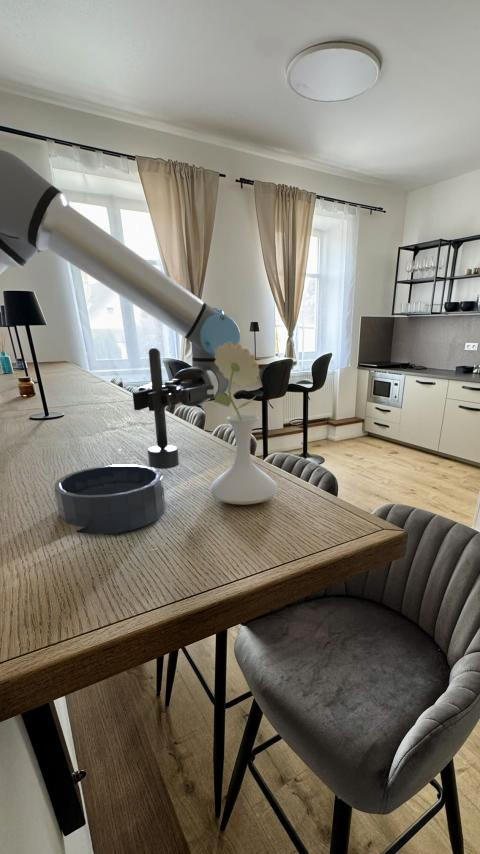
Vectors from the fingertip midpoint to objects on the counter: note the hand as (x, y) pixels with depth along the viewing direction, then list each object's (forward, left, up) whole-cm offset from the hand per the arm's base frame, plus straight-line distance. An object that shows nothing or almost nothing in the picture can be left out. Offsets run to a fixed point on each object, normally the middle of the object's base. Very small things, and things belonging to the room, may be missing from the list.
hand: (143, 401), depth 65 cm
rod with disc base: (-2, +5, -12) cm, 13 cm away
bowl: (+1, -10, -16) cm, 19 cm away
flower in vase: (+14, +6, -16) cm, 22 cm away
